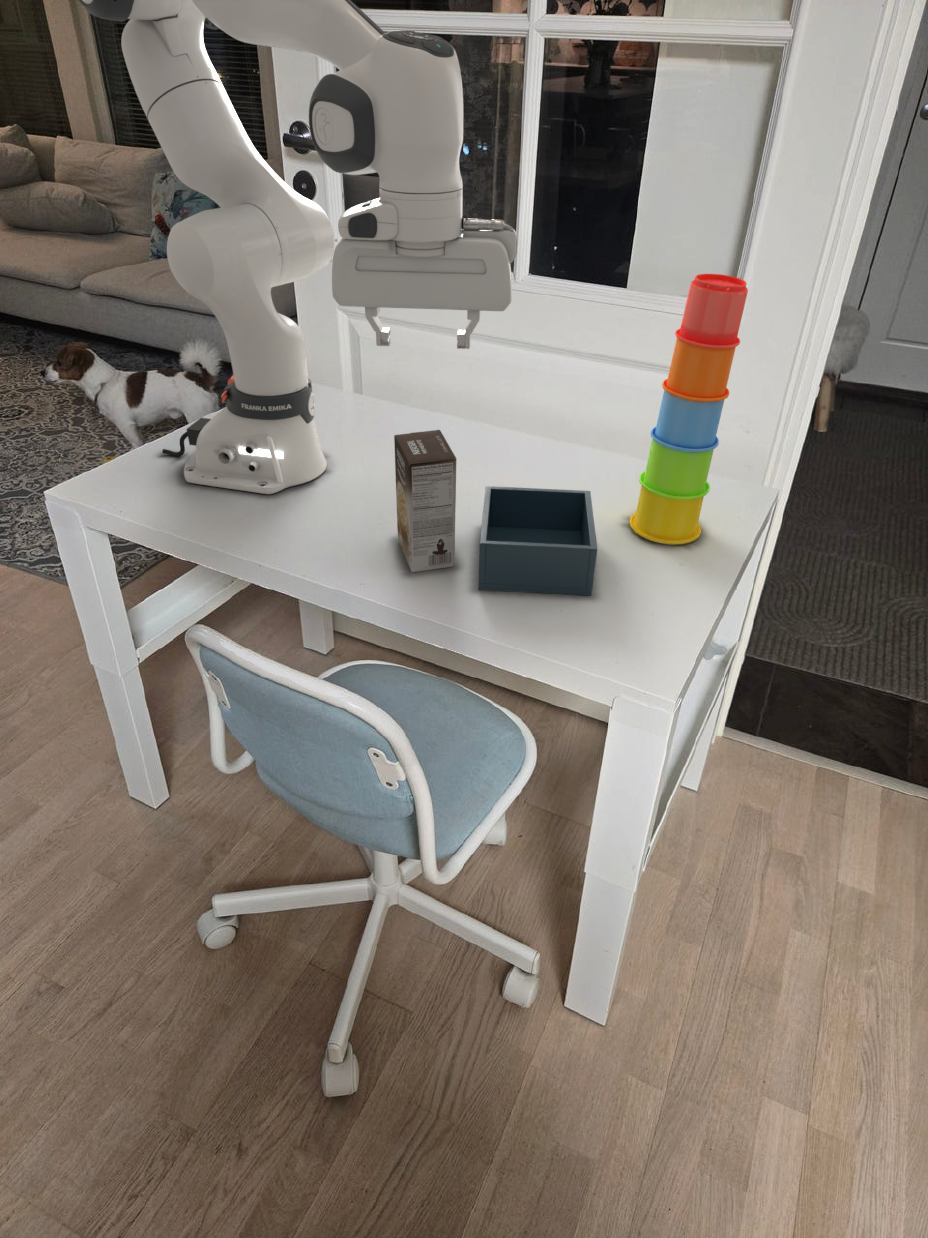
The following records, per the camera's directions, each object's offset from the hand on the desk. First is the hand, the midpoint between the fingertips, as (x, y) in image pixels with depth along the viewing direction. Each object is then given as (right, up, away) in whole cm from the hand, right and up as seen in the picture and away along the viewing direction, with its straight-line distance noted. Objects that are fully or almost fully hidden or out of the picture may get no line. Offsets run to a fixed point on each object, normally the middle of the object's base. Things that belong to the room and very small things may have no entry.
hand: (423, 346), depth 96 cm
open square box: (+14, -24, +16) cm, 32 cm away
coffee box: (0, -23, +17) cm, 29 cm away
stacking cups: (+34, -19, +23) cm, 46 cm away
